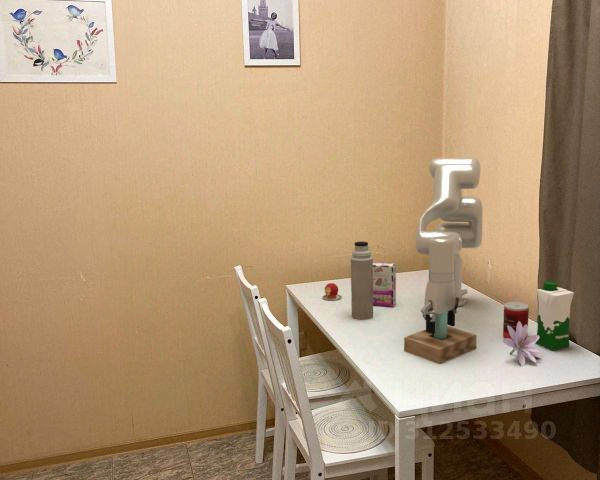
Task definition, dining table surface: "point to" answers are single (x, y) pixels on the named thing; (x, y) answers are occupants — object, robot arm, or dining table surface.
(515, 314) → the canned food
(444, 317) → the peg
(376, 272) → the candy bar box
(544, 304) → the milk carton
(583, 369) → the dining table surface
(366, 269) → the thermos bottle
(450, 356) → the socket block
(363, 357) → the dining table surface
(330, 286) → the apple
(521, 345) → the water lily
